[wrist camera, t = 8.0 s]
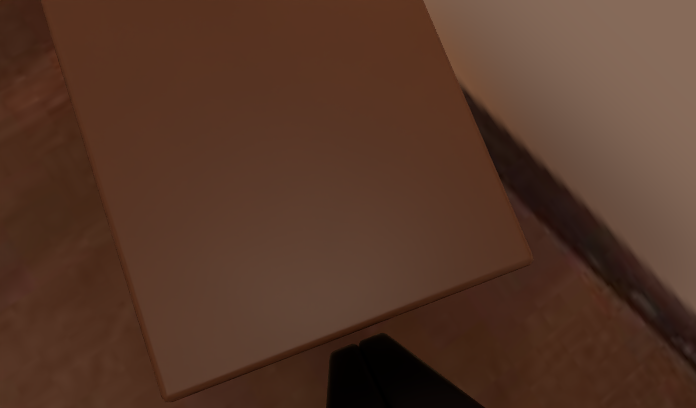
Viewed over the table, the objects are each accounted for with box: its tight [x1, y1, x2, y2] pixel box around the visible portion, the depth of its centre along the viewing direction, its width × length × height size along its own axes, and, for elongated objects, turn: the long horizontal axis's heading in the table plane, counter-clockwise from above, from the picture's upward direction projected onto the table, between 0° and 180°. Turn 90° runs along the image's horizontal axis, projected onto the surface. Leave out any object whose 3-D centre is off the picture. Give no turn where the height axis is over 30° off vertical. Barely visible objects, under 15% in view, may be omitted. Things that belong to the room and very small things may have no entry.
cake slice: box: [40, 0, 533, 402], centre depth 12 cm, size 8×5×8 cm, turn 21°
